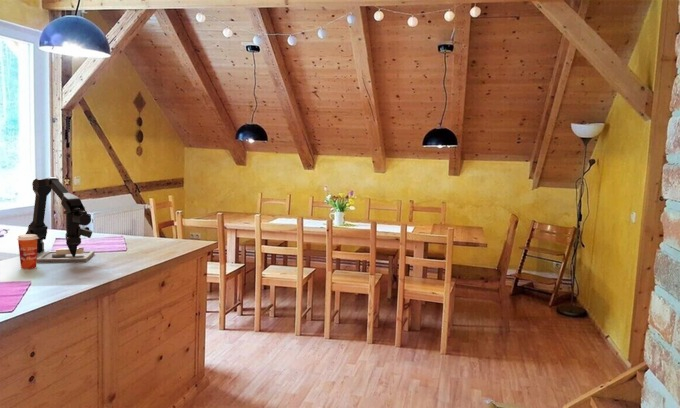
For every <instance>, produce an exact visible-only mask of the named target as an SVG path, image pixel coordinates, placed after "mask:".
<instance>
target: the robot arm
mask: <svg viewBox="0 0 680 408" xmlns="http://www.w3.org/2000/svg"><path fill="white" fill-rule="evenodd" d="M31 184H32V185H31V186H32V191H33V193H35V199H34V206H33V207H34V208H33V216H32V221H31V223H30V224H29V225H28V228H27V230H26V232H25V234H35V235H37V237H38V239H37V254H40V253H42V252H44V251H45V243H44V241H43V240H46V239H47V234H48V226H47V225H46V224H45V215H46V206H47V199H48V198H47V197H48V196H49V194H50V193H51V192H54V193H55V194H56V196H57V197H58V198H59V199H60V200H61V202H60V203H61V207H63V209H64V210H65V211H63V212H62V213H63V214H64V215H65V230H66V233H65V243H66V246H67V248H69V250H70V252H71V254H72V257H75V255H76V250H77V248H78V246H79V245H81V244H82V238H81V237H84V238H85V237H86V238H89V239H90V238H91V237H92V235H93V230H91V229H90V227H88V225H90V224H91V222H92V217H91V216H90V214H89V213H88V211H87V210H86V207H85V206H84V205H83V202H82V200H81V199H80V197H78V196H77V195H75V194H72V193H71V192H70V191H69V190H68V189H67V188H66V187H65V186H64V185H63V184H62V183H61V182H60V180H59V178H58V177H55V176H54V177H53V176H52V177H46V178H35V179H33V180H32V183H31ZM81 226H83V227H84V226H85V227H84V228H83V227H81Z"/></svg>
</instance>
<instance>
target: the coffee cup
mask: <svg viewBox="0 0 680 408" xmlns="http://www.w3.org/2000/svg"><path fill="white" fill-rule="evenodd" d="M37 239H38V237H37V235H35V234H26V233H25V234H19V235H18V237H17V238H16V240H17V243H18V251H19V252H18V253H19V261H20V262H19V263H20V268H21V269H22V270H31V269H35V268H37V264H38V263H37V258H38V253H37Z"/></svg>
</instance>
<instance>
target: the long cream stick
mask: <svg viewBox="0 0 680 408" xmlns="http://www.w3.org/2000/svg"><path fill="white" fill-rule="evenodd" d="M55 251H56V253H54V254H52V257H64V256H66V254H71V252H70V250H69V248H68V247H67V248H65V247H64V248H56V249H55ZM84 251H85V249H84V247H83V246H80V247H77V250H76V254H83V253H84Z"/></svg>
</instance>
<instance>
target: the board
mask: <svg viewBox="0 0 680 408" xmlns="http://www.w3.org/2000/svg"><path fill="white" fill-rule="evenodd" d="M54 253H56V250H54V251H53V250H51V251H49V250H48V251H46V252H45V253H43V254H41V255H40V256H37V263H36V264H38V263H39V264H40V263H41V264H42V263H43V264H44V263H86V262H88V261H89V260H90V259H91V258H92V257H93V256H94V255H95V250H84V253H83V254H76V255H75V257H72V254H66V256H64V257H52V254H54Z"/></svg>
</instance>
